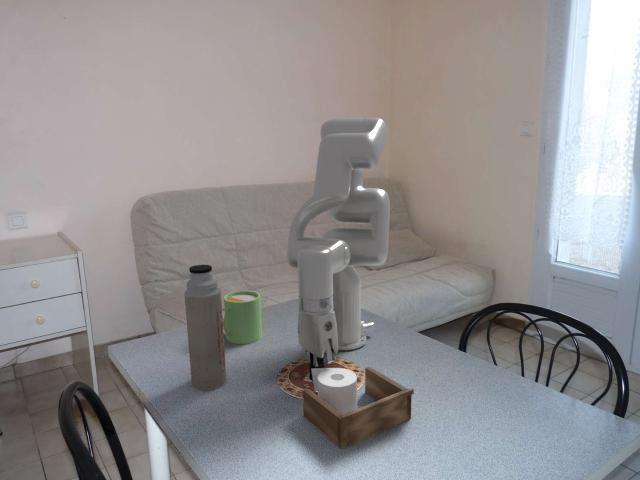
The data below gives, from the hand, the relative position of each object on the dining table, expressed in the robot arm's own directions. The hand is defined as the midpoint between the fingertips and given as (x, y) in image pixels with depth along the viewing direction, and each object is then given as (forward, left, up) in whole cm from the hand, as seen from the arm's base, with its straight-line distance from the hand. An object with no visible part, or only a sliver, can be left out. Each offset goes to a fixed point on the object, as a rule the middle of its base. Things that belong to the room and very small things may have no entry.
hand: (317, 379), depth 114 cm
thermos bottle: (+19, -17, -2) cm, 26 cm away
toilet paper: (0, +7, -2) cm, 7 cm away
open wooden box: (0, +14, -2) cm, 14 cm away
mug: (+2, -36, -2) cm, 36 cm away
